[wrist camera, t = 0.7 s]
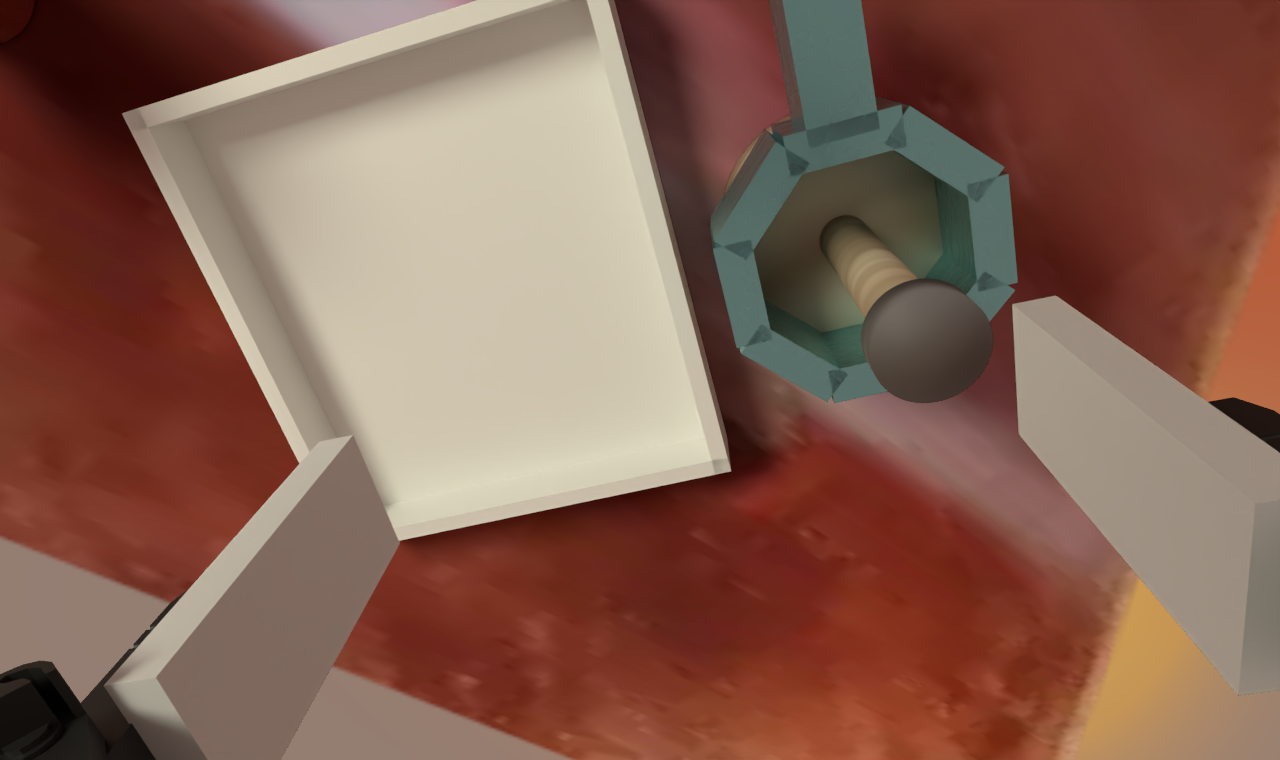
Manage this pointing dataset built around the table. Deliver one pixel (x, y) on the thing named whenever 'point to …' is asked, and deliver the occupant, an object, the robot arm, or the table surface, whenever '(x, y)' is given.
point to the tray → (452, 259)
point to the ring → (831, 135)
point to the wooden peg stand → (874, 273)
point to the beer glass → (14, 17)
